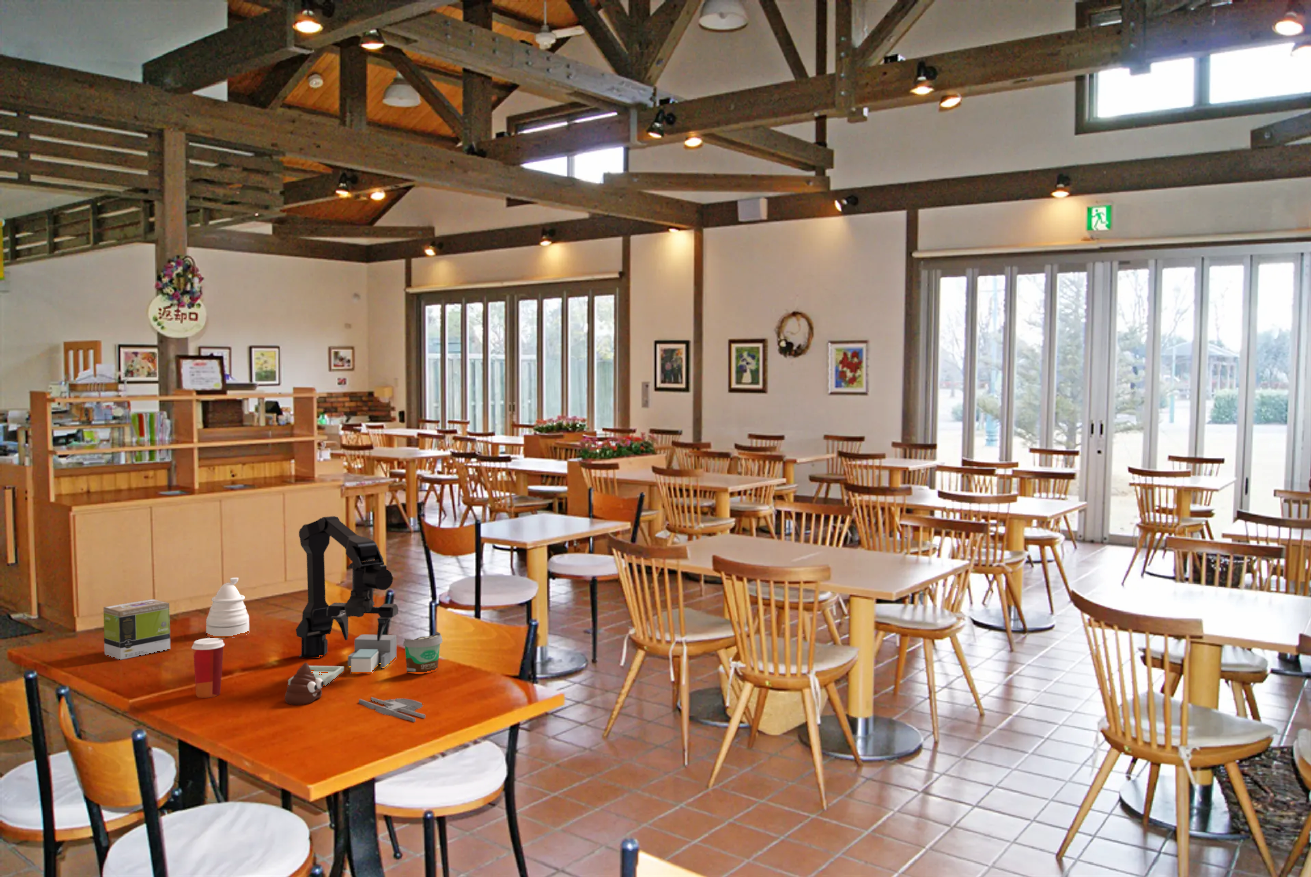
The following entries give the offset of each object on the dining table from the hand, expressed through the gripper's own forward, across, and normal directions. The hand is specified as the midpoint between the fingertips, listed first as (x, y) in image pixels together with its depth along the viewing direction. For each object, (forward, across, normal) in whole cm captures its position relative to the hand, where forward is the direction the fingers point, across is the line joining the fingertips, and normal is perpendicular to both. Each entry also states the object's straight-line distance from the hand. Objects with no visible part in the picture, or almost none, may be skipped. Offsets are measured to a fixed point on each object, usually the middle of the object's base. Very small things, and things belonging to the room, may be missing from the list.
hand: (362, 640), depth 270 cm
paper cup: (+9, -32, -24) cm, 41 cm away
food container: (+9, +18, +2) cm, 20 cm away
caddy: (+9, 0, +2) cm, 9 cm away
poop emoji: (+9, -6, -26) cm, 29 cm away
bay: (+9, 0, +9) cm, 13 cm away
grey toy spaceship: (+9, +19, -32) cm, 39 cm away
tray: (+9, -10, -8) cm, 15 cm away
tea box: (+9, -73, +15) cm, 75 cm away
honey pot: (+9, -58, +41) cm, 71 cm away
